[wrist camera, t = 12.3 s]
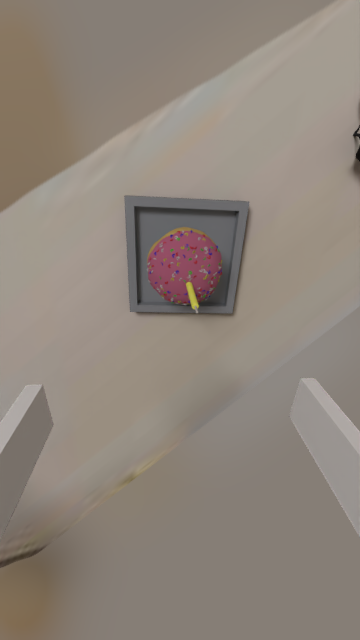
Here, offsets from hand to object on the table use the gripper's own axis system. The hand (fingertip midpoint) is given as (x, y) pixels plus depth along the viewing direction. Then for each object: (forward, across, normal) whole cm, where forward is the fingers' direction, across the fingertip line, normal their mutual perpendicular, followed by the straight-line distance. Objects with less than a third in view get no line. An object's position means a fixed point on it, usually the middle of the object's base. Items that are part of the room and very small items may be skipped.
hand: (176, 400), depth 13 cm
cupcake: (+23, +2, +2) cm, 23 cm away
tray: (+23, +2, +2) cm, 23 cm away
